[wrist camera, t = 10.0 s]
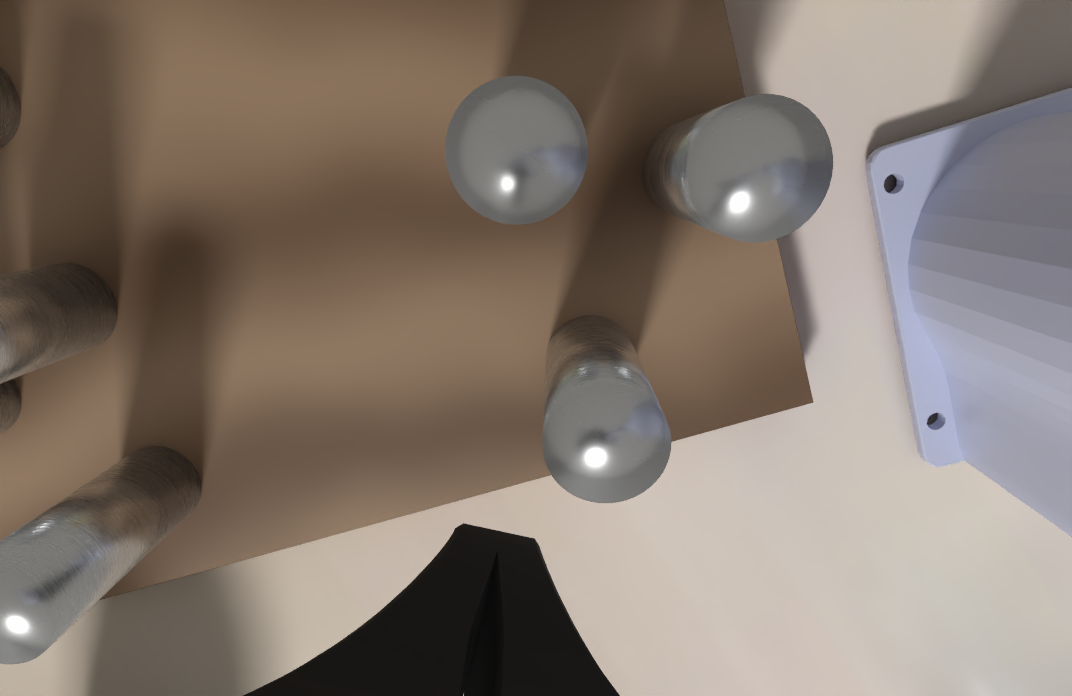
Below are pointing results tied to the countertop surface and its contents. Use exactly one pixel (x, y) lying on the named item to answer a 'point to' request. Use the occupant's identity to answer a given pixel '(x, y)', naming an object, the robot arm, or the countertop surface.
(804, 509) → the countertop surface
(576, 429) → the spacers
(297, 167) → the board
